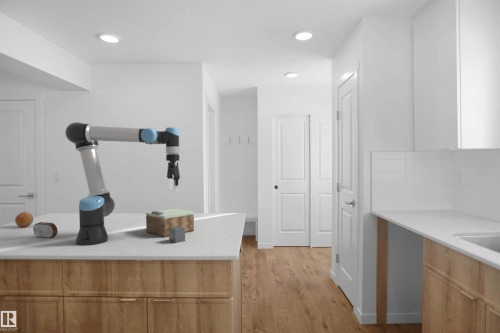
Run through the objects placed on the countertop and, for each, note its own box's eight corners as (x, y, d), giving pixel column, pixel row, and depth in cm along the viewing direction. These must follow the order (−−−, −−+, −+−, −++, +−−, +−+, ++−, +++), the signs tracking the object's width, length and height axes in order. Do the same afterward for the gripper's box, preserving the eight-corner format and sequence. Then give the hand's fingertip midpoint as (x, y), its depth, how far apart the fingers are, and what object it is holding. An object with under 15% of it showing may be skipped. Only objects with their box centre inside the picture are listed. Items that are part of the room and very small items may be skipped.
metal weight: (175, 243, 160) (175, 229, 160) (169, 241, 164) (168, 228, 164) (185, 241, 164) (185, 227, 164) (178, 239, 168) (178, 226, 168)
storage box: (164, 237, 172) (164, 219, 172) (146, 232, 186) (146, 215, 186) (193, 231, 187) (193, 214, 187) (175, 226, 201) (174, 211, 200)
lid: (164, 219, 172) (164, 214, 172) (145, 215, 186) (145, 210, 186) (193, 214, 187) (193, 209, 187) (174, 210, 200) (174, 206, 200)
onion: (17, 226, 207) (16, 211, 207) (34, 224, 212) (34, 210, 211) (13, 229, 199) (12, 213, 198) (31, 227, 203) (31, 212, 203)
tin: (58, 237, 175) (57, 222, 175) (53, 238, 172) (52, 223, 172) (37, 236, 179) (37, 221, 179) (32, 237, 176) (31, 222, 176)
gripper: (185, 153, 173) (185, 191, 173) (173, 154, 195) (174, 188, 195) (171, 153, 169) (172, 192, 170) (161, 154, 191) (162, 189, 191)
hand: (173, 190), depth 182 cm, fingers open, 13 cm apart
